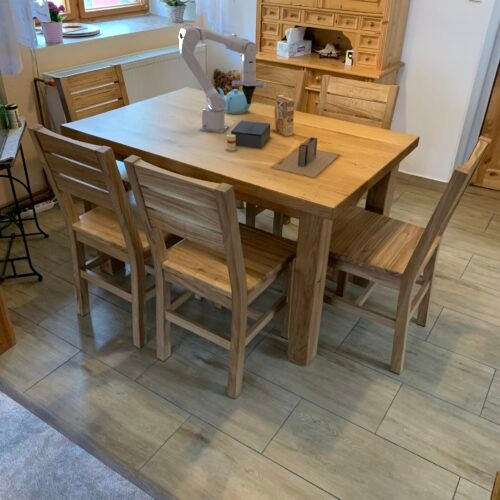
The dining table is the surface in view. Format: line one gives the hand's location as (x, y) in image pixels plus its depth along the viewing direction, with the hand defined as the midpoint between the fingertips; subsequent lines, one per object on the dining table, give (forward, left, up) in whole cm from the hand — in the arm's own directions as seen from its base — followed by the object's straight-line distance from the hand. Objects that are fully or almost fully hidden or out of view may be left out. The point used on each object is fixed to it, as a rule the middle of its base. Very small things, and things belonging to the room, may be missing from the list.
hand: (248, 103), depth 219 cm
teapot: (-12, +22, -11) cm, 27 cm away
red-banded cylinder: (+2, -30, -10) cm, 32 cm away
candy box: (+17, -3, -11) cm, 20 cm away
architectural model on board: (+33, -32, -11) cm, 47 cm away
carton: (+6, -18, -10) cm, 22 cm away
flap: (+3, -18, -5) cm, 19 cm away
